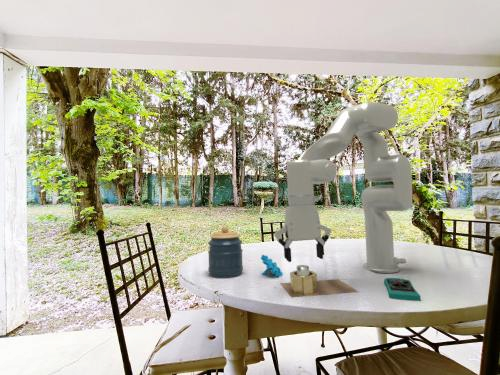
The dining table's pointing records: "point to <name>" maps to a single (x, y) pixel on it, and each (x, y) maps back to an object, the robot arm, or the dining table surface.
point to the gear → (270, 266)
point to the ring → (303, 283)
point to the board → (323, 288)
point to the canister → (225, 254)
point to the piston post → (303, 270)
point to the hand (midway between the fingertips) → (304, 259)
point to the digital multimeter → (401, 289)
